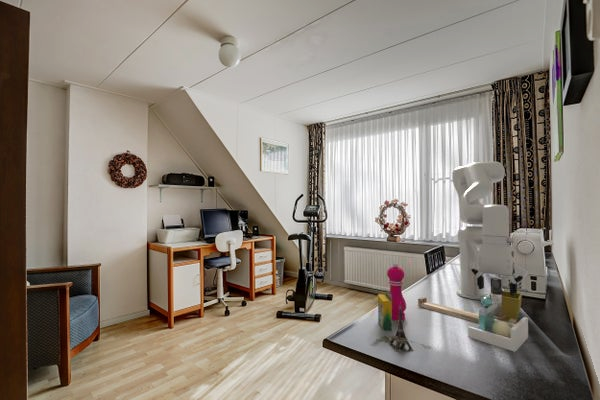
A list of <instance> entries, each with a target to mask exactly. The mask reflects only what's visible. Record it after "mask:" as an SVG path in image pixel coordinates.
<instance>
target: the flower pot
mask: <svg viewBox="0 0 600 400" xmlns="http://www.w3.org/2000/svg"><path fill="white" fill-rule="evenodd" d="M488 295H489V298H490V299H491V292H490V293H489V294H488ZM522 297H523V294H522V293H520V292H517V293H515V295H513V296H511V295H510V291H505V290H502V315H505V321H506V322H508V321H509V320H510V319H514V320H516V321H517V319H518V317H519V314H520V311H521V306H522V299H523V298H522Z"/></svg>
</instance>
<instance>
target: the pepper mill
mask: <svg viewBox="0 0 600 400" xmlns="http://www.w3.org/2000/svg"><path fill="white" fill-rule="evenodd" d="M386 275H387V278H389V279H388V284H389V293H390V294H391V295H392V321H398V322H399V309H400V308H399V306H400V302H401V306H402V308H401V310H402V321H404V320H405V319H406V313H405V311H406V309H407V303H406V300H405V297H404V295H403V292H402V286H403V285H404V280H403V279H404V278H405V271H404V270H403V268H401V267H399V264H398V262H393V264H392V266H391V267H389V268H388V269H387V272H386ZM387 295H388V296H389V297H390V295H389V294H387Z"/></svg>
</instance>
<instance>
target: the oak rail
mask: <svg viewBox="0 0 600 400" xmlns="http://www.w3.org/2000/svg"><path fill="white" fill-rule="evenodd" d="M417 306H418V307H421V308H424V309H428V310H430V311H431V310H432V311H435V312H439V313H442V314H446V315H449V316H452V317H453V316H454V317H456V318H461V319H464V320H467V321H471V322H475V323H478V324H479V313H478V314H477V313H473V312H470V311H466V310H462V309H458V308H455V307H450V306H446V305H443V304H439V303H435V302H431V301H429V300H428V301H427V297H426V296H421V297H419V298H417ZM507 322H508V323H512V324H517V319H516V320H514V319H510V320H509V321H507Z"/></svg>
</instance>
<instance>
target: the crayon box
mask: <svg viewBox="0 0 600 400" xmlns="http://www.w3.org/2000/svg"><path fill="white" fill-rule="evenodd" d="M388 295H390V297H389V296H388ZM377 309H378V310H377V311H378V312H377V313H378V315H377V316H378V318H377V320H378V321H377V322H378V323H379V325H380V327H381V328H382V330H383V331H384V332H393V320H392V295H391V294H390V291H388V290H387V289H385V294H380V293H379V294H377Z"/></svg>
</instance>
